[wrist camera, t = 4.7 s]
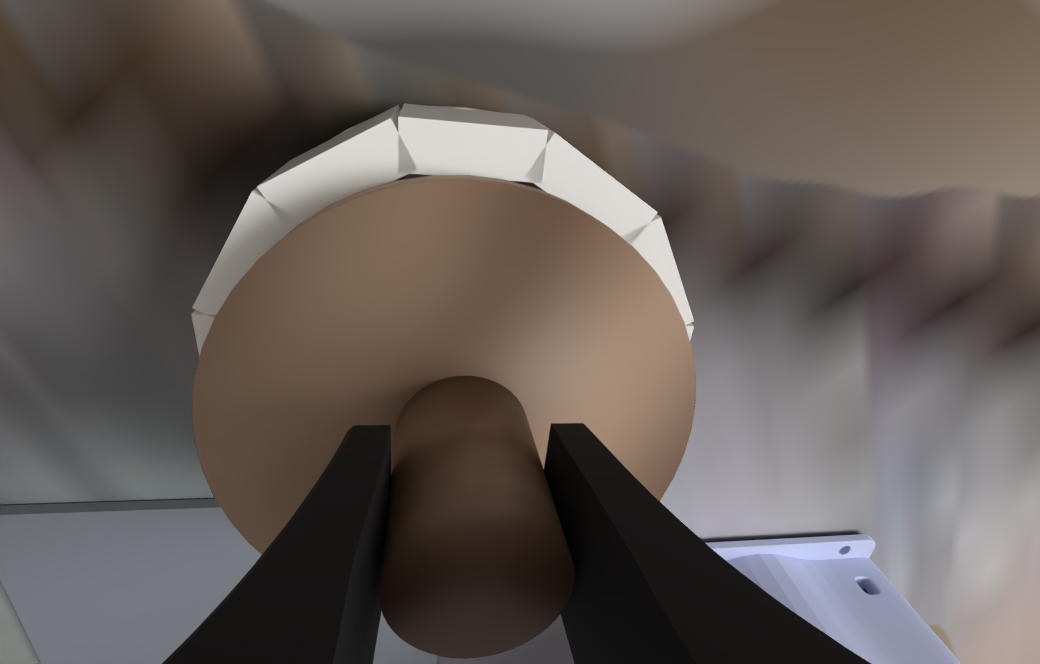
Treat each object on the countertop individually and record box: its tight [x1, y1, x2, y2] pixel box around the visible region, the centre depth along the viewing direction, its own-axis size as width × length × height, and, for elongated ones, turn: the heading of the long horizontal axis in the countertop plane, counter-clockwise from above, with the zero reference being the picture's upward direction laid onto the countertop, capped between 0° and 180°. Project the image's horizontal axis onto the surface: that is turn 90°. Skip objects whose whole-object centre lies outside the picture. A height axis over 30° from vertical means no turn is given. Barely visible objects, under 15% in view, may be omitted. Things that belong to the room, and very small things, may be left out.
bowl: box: [191, 104, 694, 357], centre depth 14 cm, size 11×11×4 cm
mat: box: [0, 499, 437, 664], centre depth 20 cm, size 14×10×1 cm
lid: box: [192, 175, 696, 658], centre depth 10 cm, size 10×10×5 cm
